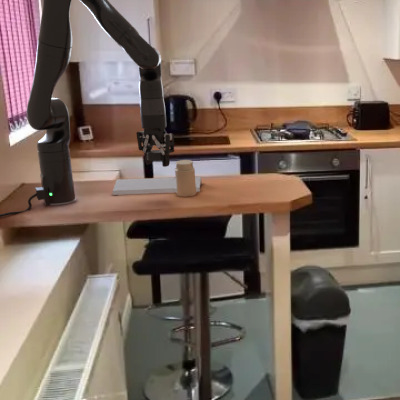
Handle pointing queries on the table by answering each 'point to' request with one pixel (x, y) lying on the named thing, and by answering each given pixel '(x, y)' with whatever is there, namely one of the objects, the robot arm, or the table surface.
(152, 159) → the jar lid
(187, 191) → the coffee jar
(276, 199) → the table surface
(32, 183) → the table surface
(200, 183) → the crown molding
